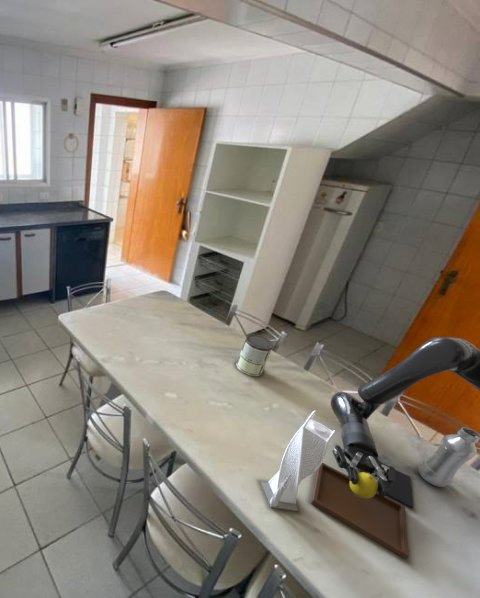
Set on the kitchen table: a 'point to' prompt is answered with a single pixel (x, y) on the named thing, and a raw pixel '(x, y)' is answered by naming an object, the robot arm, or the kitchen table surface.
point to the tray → (361, 510)
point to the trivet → (399, 488)
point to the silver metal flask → (449, 457)
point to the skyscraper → (298, 463)
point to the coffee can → (254, 355)
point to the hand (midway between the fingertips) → (369, 488)
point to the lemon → (365, 486)
